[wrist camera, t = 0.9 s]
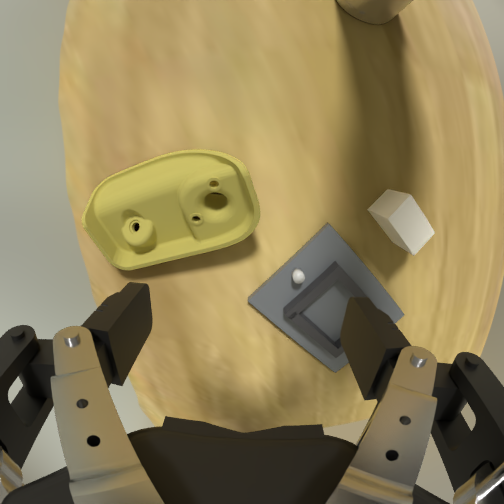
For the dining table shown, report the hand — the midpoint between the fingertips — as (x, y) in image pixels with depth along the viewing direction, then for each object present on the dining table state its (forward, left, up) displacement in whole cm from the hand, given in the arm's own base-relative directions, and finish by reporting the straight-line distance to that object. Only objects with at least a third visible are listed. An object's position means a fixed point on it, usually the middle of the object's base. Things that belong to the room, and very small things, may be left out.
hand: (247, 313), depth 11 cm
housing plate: (+1, +17, -24) cm, 29 cm away
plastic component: (+6, -7, -24) cm, 26 cm away
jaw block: (-13, +13, -24) cm, 30 cm away
